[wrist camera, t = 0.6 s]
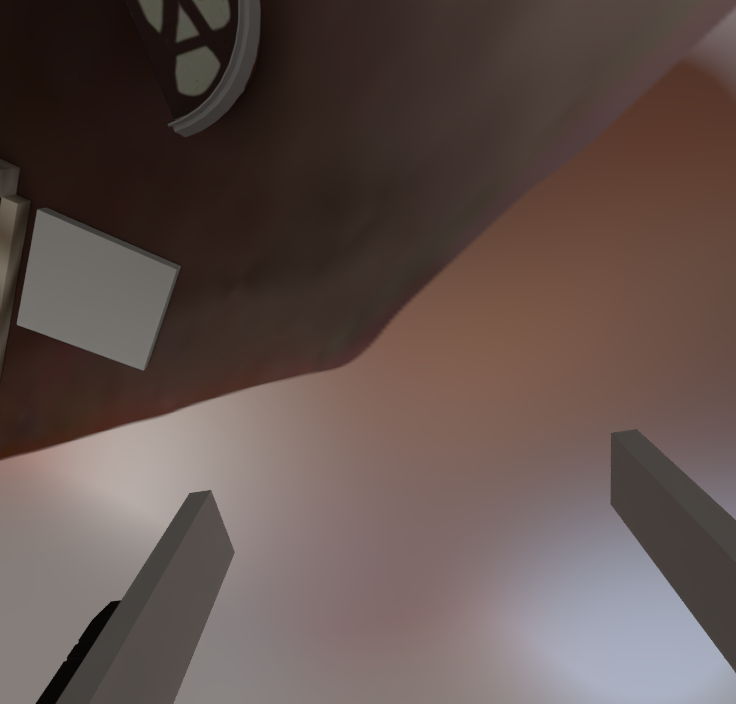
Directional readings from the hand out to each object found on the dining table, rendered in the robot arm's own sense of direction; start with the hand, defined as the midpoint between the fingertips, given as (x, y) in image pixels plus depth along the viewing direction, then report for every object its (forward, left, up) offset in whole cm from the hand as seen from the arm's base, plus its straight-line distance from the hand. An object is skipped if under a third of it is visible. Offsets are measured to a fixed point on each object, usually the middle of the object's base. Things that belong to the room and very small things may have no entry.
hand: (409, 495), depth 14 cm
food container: (-11, -16, -24) cm, 31 cm away
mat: (+11, -19, -24) cm, 32 cm away
